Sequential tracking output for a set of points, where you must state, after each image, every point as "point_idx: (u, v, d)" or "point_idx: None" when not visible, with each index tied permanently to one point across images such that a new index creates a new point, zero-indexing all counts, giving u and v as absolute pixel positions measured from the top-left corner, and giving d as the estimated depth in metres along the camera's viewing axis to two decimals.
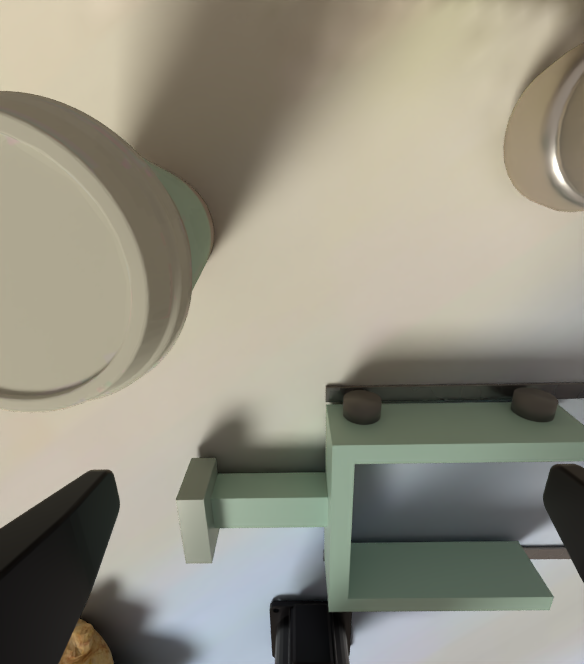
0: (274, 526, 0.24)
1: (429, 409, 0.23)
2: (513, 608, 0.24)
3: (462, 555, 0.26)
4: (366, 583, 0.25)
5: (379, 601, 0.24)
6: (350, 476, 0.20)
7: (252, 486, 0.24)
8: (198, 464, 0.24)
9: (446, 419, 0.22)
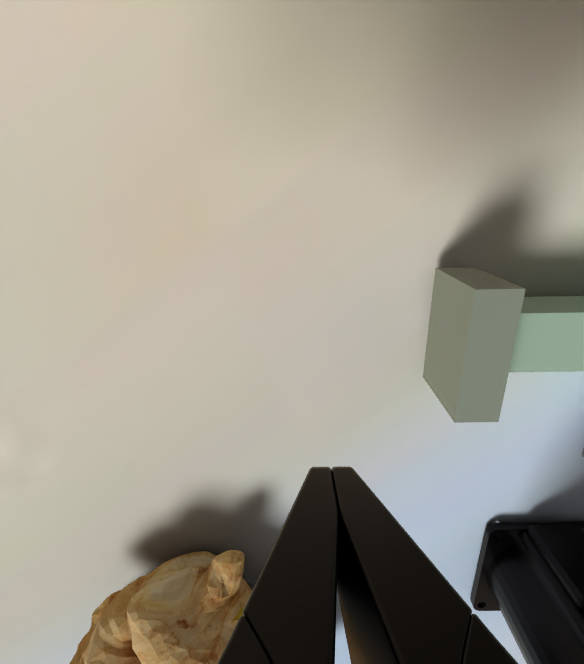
0: None
1: None
2: None
3: None
4: None
5: None
6: None
7: (547, 305, 0.15)
8: (456, 270, 0.15)
9: None
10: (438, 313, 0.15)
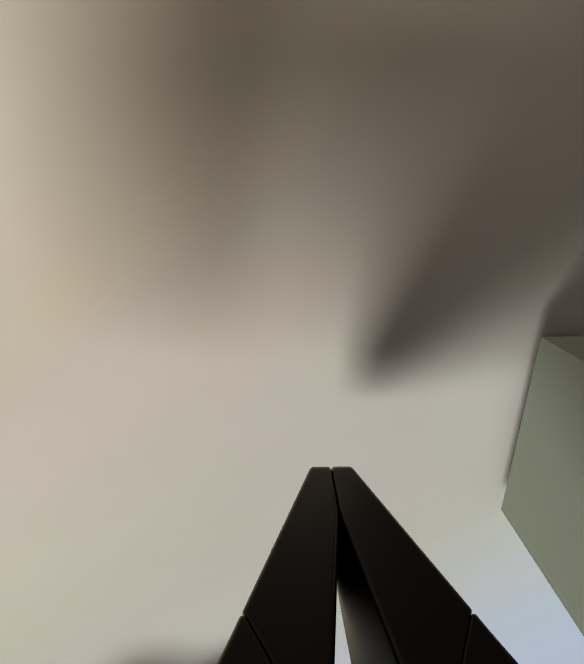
0: None
1: None
2: None
3: None
4: None
5: None
6: None
7: None
8: None
9: None
10: (549, 423, 0.08)
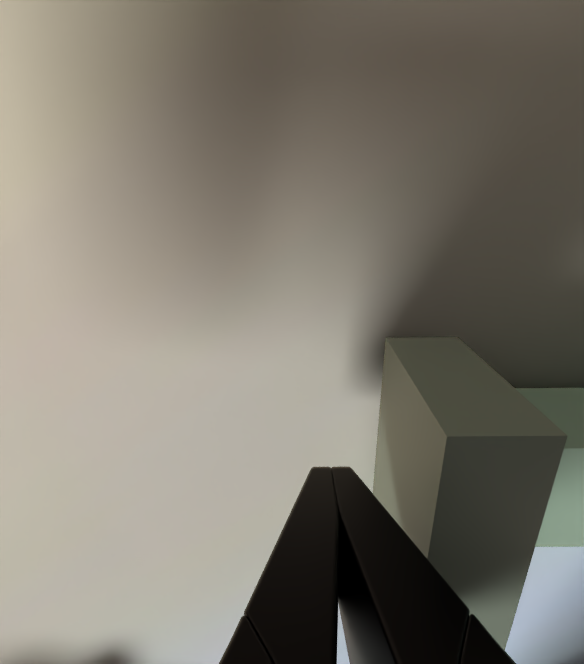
0: None
1: None
2: None
3: None
4: None
5: None
6: None
7: None
8: (421, 348, 0.08)
9: None
10: (388, 424, 0.08)
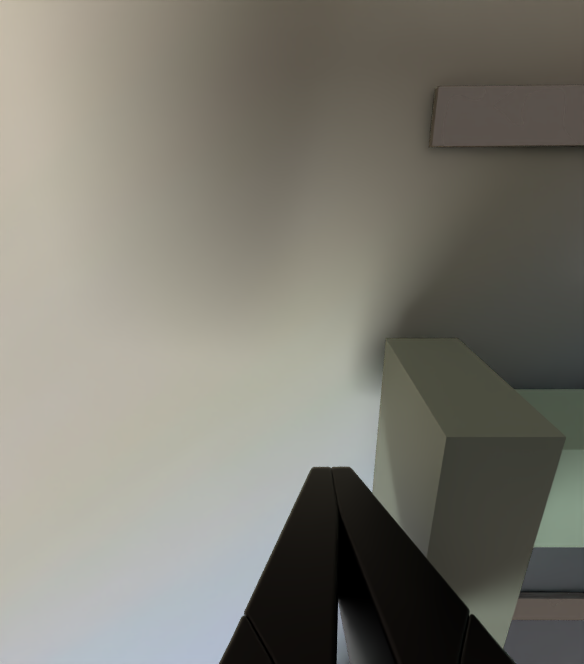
0: None
1: None
2: None
3: None
4: None
5: None
6: None
7: None
8: (421, 349, 0.08)
9: None
10: (388, 425, 0.08)
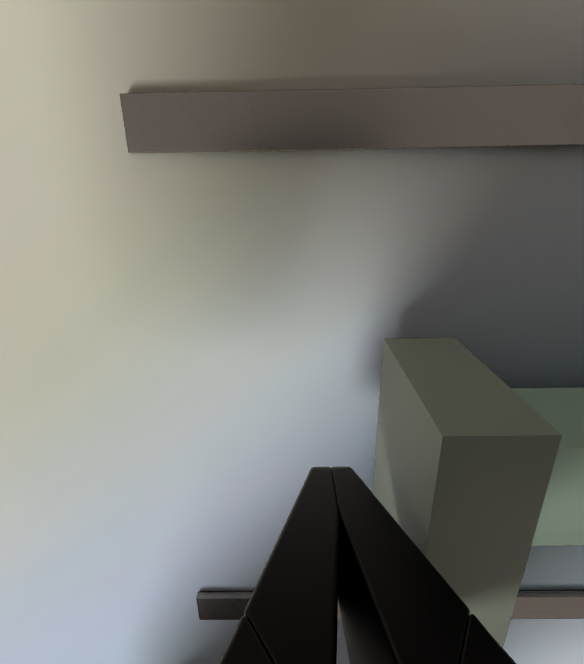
0: None
1: None
2: None
3: None
4: None
5: None
6: None
7: None
8: (419, 349, 0.08)
9: None
10: (387, 424, 0.08)
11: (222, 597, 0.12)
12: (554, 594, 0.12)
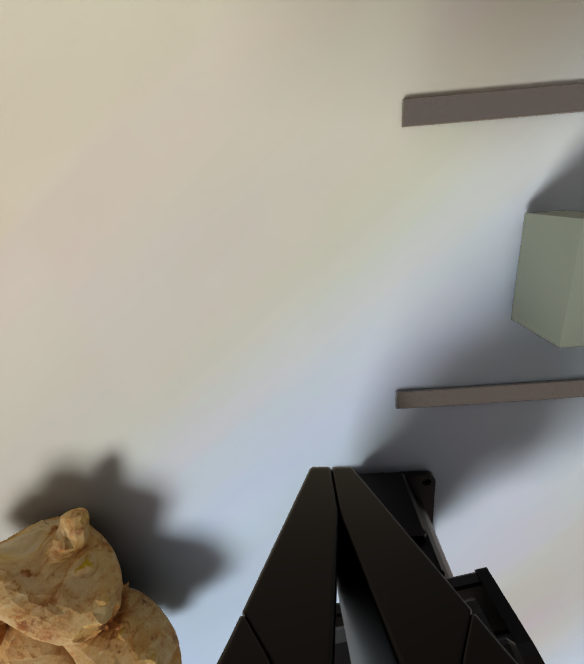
0: None
1: None
2: None
3: None
4: None
5: None
6: None
7: None
8: (548, 212, 0.16)
9: None
10: (531, 254, 0.17)
11: (412, 391, 0.20)
12: None
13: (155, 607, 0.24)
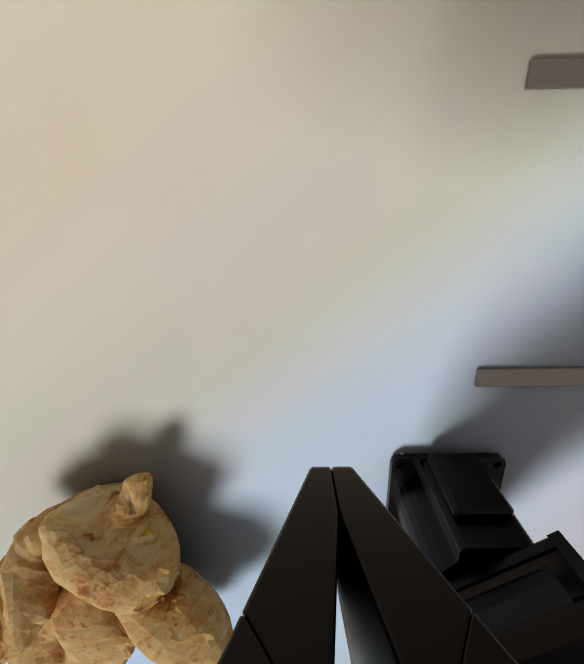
0: None
1: None
2: None
3: None
4: None
5: None
6: None
7: None
8: None
9: None
10: None
11: (494, 369, 0.20)
12: None
13: (206, 582, 0.23)
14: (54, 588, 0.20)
